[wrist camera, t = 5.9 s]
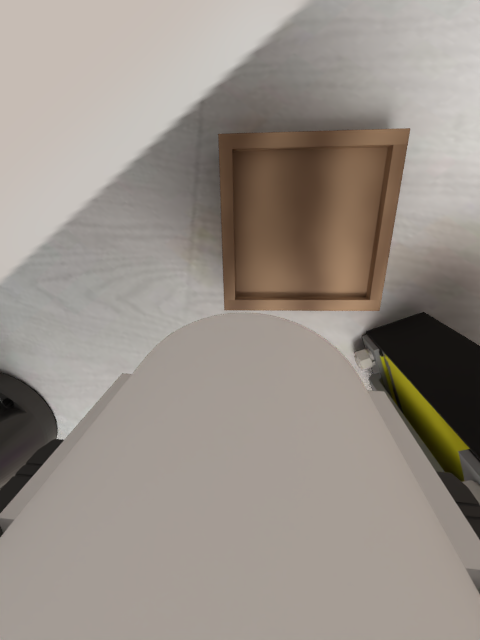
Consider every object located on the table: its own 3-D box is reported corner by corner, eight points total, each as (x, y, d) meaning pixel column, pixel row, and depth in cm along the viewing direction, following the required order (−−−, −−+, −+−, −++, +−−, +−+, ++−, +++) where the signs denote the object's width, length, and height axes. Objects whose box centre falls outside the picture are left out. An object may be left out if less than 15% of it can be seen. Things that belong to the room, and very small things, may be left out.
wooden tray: (228, 296, 31) (224, 310, 27) (224, 146, 26) (218, 133, 22) (362, 296, 30) (379, 310, 26) (384, 141, 25) (410, 128, 21)
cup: (307, 504, 15) (371, 959, 6) (127, 450, 15) (-97, 841, 6) (402, 346, 12) (934, 886, 2) (165, 269, 11) (-286, 547, 2)
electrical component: (346, 338, 32) (473, 519, 13) (442, 305, 30) (749, 461, 11) (383, 452, 37) (511, 694, 19) (467, 430, 35) (702, 675, 17)
